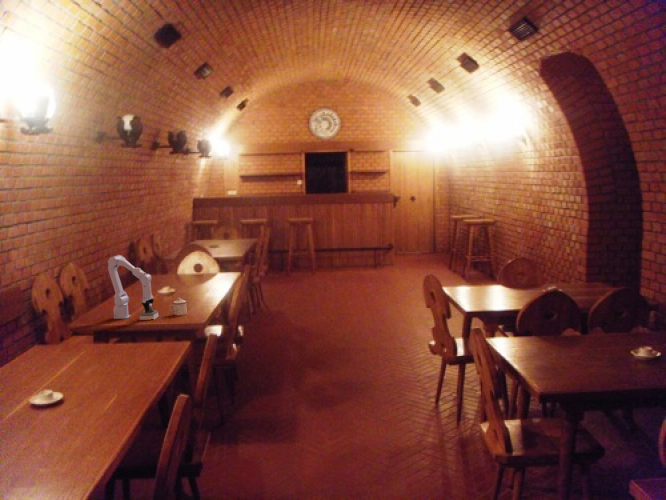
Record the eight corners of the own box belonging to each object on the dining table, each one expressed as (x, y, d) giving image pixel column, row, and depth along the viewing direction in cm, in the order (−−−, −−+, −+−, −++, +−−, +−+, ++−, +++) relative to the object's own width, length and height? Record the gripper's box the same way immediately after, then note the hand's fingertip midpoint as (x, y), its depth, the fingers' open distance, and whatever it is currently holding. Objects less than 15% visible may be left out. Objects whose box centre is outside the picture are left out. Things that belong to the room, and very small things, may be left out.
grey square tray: (139, 319, 409) (139, 313, 408) (144, 316, 418) (144, 310, 417) (153, 319, 408) (153, 313, 408) (158, 316, 417) (158, 309, 417)
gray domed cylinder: (144, 313, 410) (143, 305, 410) (147, 311, 415) (146, 303, 414) (150, 313, 410) (150, 305, 409) (153, 311, 415) (153, 303, 414)
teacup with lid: (187, 312, 426) (186, 296, 424) (186, 315, 417) (185, 299, 415) (170, 313, 424) (169, 297, 423) (169, 316, 415) (167, 300, 414)
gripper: (148, 293, 403) (150, 313, 405) (156, 289, 417) (158, 307, 419) (138, 293, 403) (140, 313, 405) (146, 289, 418) (148, 307, 420)
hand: (148, 310), depth 412 cm, fingers closed on gray domed cylinder, 5 cm apart
